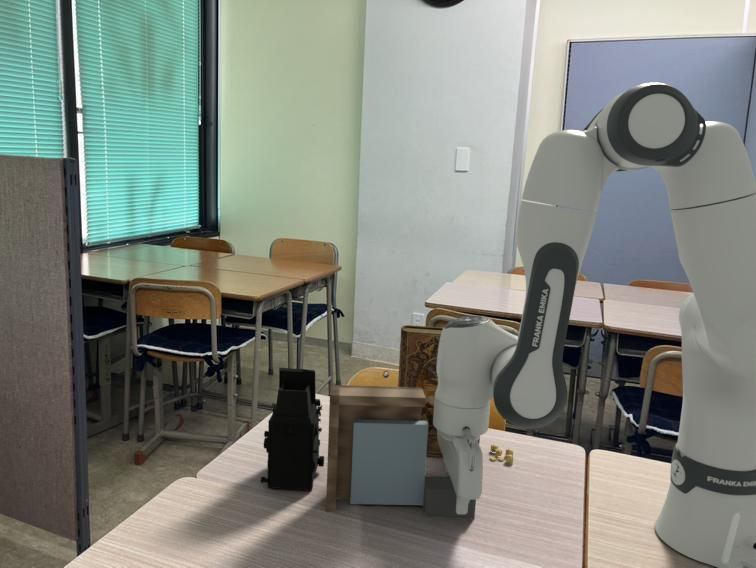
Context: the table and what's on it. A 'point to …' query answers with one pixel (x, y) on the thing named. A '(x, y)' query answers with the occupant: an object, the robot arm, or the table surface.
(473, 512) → the block
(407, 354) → the book
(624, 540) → the table surface
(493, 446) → the dice set
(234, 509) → the table surface
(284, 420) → the camera
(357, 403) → the open wooden box
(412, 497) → the door panel
